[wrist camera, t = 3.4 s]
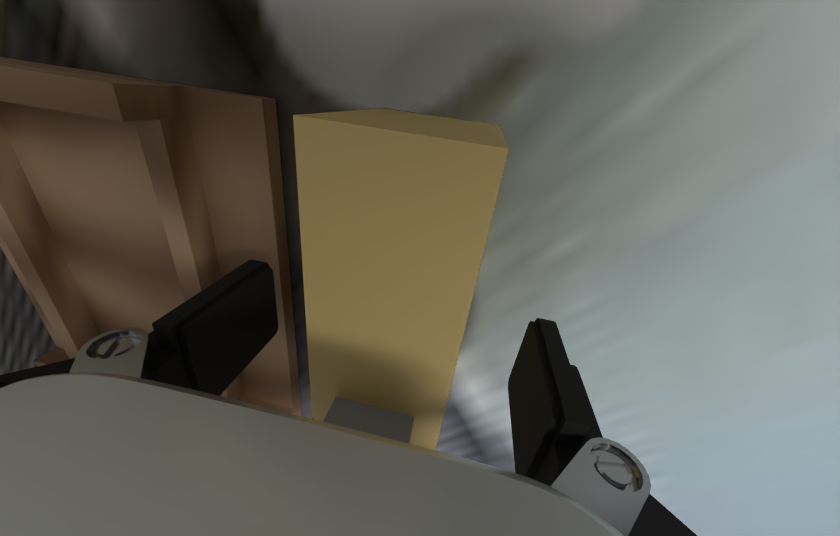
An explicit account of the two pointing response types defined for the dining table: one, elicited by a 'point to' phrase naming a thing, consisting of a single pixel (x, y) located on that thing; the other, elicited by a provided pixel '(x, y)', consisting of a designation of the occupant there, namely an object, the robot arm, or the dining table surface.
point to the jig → (141, 206)
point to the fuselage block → (391, 260)
